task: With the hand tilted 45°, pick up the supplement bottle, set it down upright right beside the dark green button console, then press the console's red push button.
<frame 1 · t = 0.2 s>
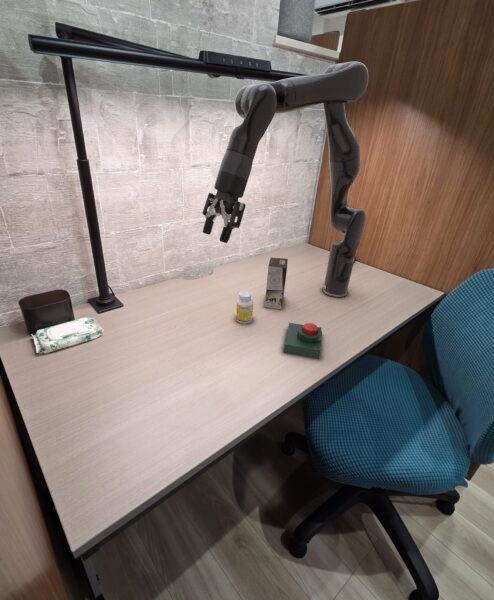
hand: (214, 237, 82), 31 cm above the table, tool tilted 20°, fingers open, 8 cm apart
button: (310, 329, 92), point 6 cm above the table, slide at 0.1 cm
supplement bottle: (244, 320, 106), on the table
console: (302, 343, 95), on the table
coffee box: (274, 303, 117), on the table
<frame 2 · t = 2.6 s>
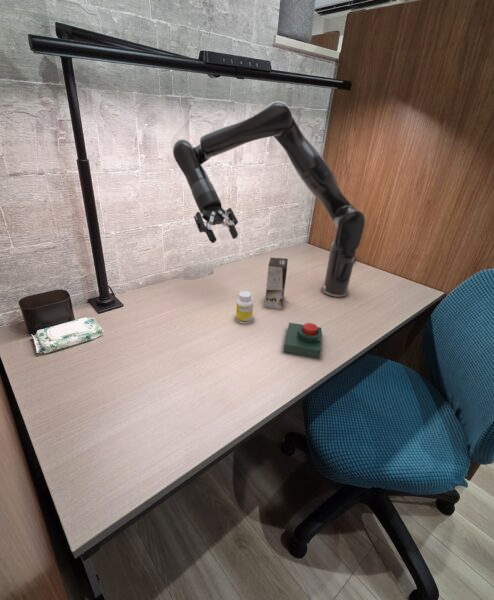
hand: (225, 239, 102), 25 cm above the table, tool tilted 45°, fingers open, 8 cm apart
nothing on the table moved.
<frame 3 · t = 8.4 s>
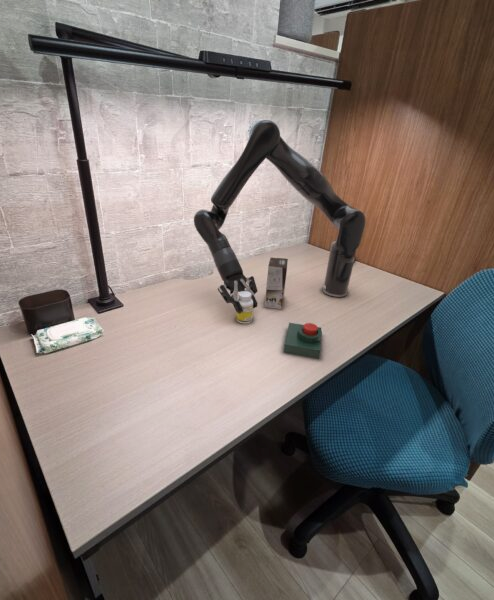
hand: (248, 309, 103), 5 cm above the table, tool tilted 45°, fingers closed on supplement bottle, 5 cm apart
supplement bottle: (244, 320, 106), on the table, touching gripper
everything else where it was.
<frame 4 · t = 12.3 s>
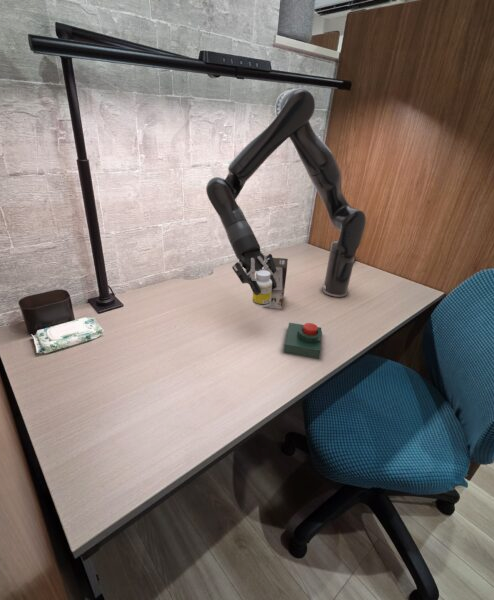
hand: (266, 291, 91), 16 cm above the table, tool tilted 45°, fingers closed on supplement bottle, 5 cm apart
supplement bottle: (261, 303, 94), point 11 cm above the table, touching gripper
everything else where it was.
when the fingers open (5 cm above the table, at t = 16.0 s): supplement bottle stays where it is, on the table.
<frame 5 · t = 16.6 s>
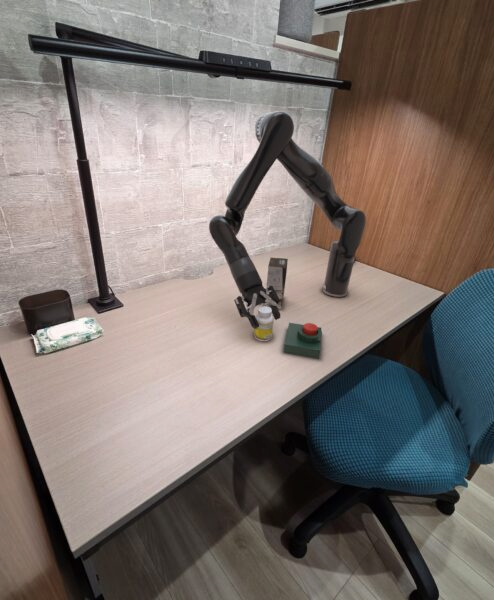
hand: (267, 323, 94), 6 cm above the table, tool tilted 45°, fingers open, 8 cm apart
supplement bottle: (262, 337, 98), on the table
everything else where it was.
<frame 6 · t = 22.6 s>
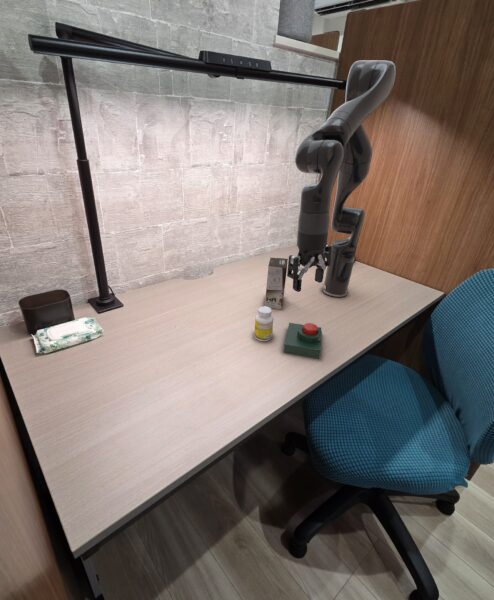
hand: (308, 286, 87), 19 cm above the table, tool pointing down, fingers open, 8 cm apart
nothing on the table moved.
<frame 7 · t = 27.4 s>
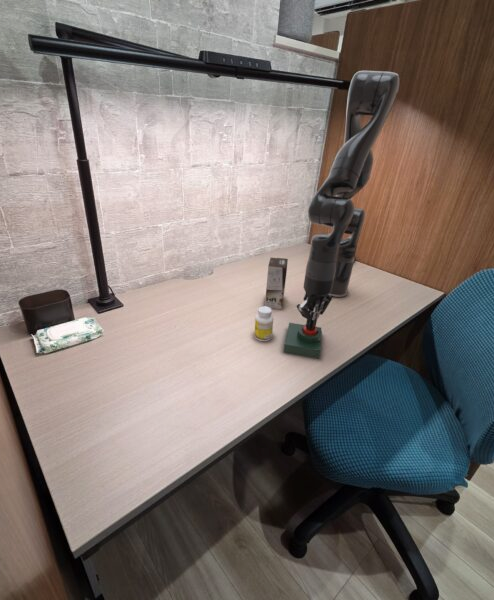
hand: (310, 328, 92), 6 cm above the table, tool pointing down, fingers closed
button: (309, 331, 92), point 5 cm above the table, slide at -0.5 cm, touching gripper
everything else where it was.
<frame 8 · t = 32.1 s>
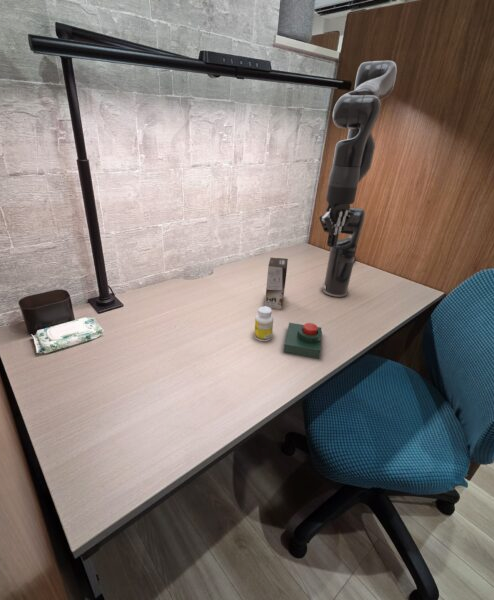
hand: (331, 246, 92), 27 cm above the table, tool pointing down, fingers closed
button: (310, 329, 92), point 6 cm above the table, slide at 0.1 cm
everything else where it was.
at the end: supplement bottle inside the target area on the table beside the console (0.1 cm from its centre), on the table; supplement bottle tilted 0°; button pushed in 1.0 cm at the most during the clip, back to where it started at the end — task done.
